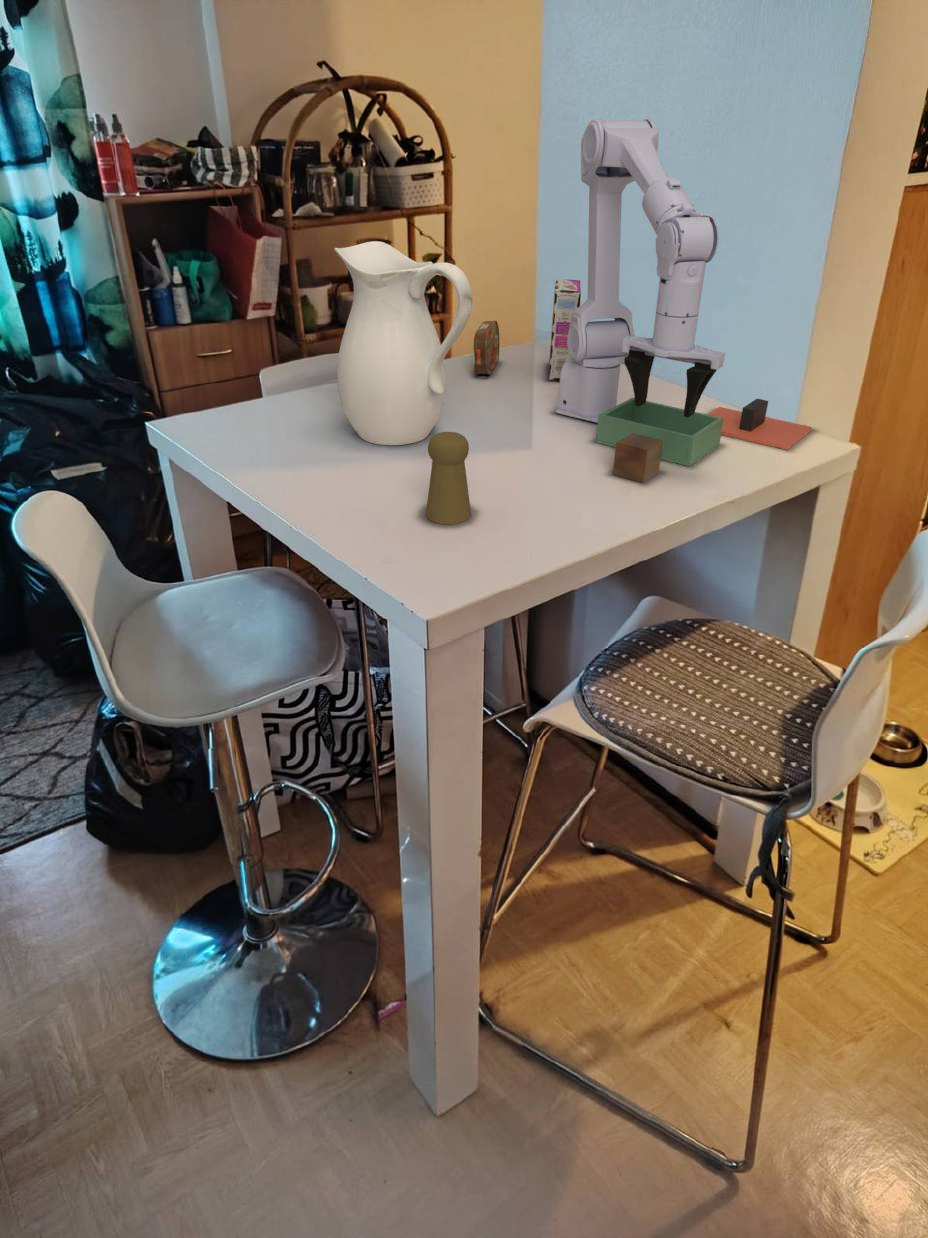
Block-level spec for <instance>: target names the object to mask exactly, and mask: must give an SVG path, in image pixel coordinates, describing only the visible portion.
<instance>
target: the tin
mask: <svg viewBox="0 0 928 1238" xmlns="http://www.w3.org/2000/svg"><path fill="white" fill-rule="evenodd" d="M473 352H474V353H473V354H474V355H473V356H474V371H475V374H476V375H478V376H482V375H483V376H491V375H492V374H493V372H494V370H495V368H496V366H497V364H498V363H499V357H500V328H499V323H498V321H497V320H486V321H483V322H482V323H481V324H480V325H479V327H478V329H476V331H475V333H474V336H473Z"/></svg>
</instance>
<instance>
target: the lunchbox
mask: <svg viewBox="0 0 928 1238" xmlns="http://www.w3.org/2000/svg"><path fill="white" fill-rule="evenodd" d="M707 414H708V413H703V412H698V411H695V413H694V414H693V415H692V416H690V417H684V408H680V407H676V406H671V405H667V404H663V403H658V402H654V401H649V400H646V403H645V404H643V405H641V406H635V397H631V398H628V399H627V400H625V401H623V402H621V403H619V404H616V406H615V407H613V408H611V409H609V410H608V411H606V412H604V413H602V414H600V415H599V418H598V423H597V428H596V429H597V431H596V439H595V442H596V443H597V444H600V445H605V446H609V447H611V448H612V447H613V448H616V442H618V441H619V440H621V439H623V438H624V437H626V436H628V435H630V434H631V433H635V434H639V435H643V436H647V437H651V438H655V439H659V440H663V446H662V453H661V460H663V461H667V462H670V463H675V464H677V465H678V464H679V465H682V466H687V467H691V466H692V465H694V464H695V463H697V462H698V461H700V460H701V459H702V458H704V457H705V456H706V455H708V454H710V453H711V452H712V451H714V450H715V449H716V448H718V447H719V446H720V444H721V437H722V435H721V432H722V427H723V421H724V418H721V417H716V416H712V415H707Z"/></svg>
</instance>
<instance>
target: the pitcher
mask: <svg viewBox="0 0 928 1238" xmlns="http://www.w3.org/2000/svg"><path fill="white" fill-rule="evenodd" d="M333 249H334V251H335V253H336V254H337V255H338V257H339V258H340V259H341V261H342V262H343V264H344V265H345V267H346V268H347V270H348V272H349V274H350V276H351V279H352V284H353V295H352V296H353V297H352V304H351V307H350V312H349V315H348V319H347V321H346V324H345V328H344V332H343V335H342V338H341V342H340V345H339V352H338V357H337V365H336V366H337V367H336V368H337V369H336V381H337V391H338V396H339V400H340V403H341V407H342V409H343V411H344V413H345V416H346V417H347V419H348V421H349V424H350V425H351V426H352V428H353V430H354V431H355V432H356V434H357V435H358V436H359V437H360V438H361V439H362V440H364V441H365V442H368V443H370V444H374V445H380V446H405V445H409V444H416V443H418V442H421V441H422V440H424V439H426V438H427V437H428V436H429V435H430V433H431V431H432V430H433V428H434V426H435V425H436V423H437V421H438V419H439V416H440V414H441V412H442V410H443V406H444V402H445V398H446V392H447V391H446V390H447V368H446V367H447V366H446V360H445V357H446V356H447V354H448V353H449V352H450V350H451V348H452V347H453V346H454V344H455V343H456V342H457V340H458V338H459V337H460V336H461V334H462V332H463V331H464V329H465V327H466V325H467V323H468V321H469V319H470V317H471V312H472V307H473V291H472V287H471V284H470V281H469V279H468V277H467V275H466V274H465V273H464V271H463V270H462V269H461V268H460V267H458V266H457V265H455V264H453V263H449V262H442V261H441V262H435V263H434V262H432V261H424V262H418V261H415V260H413V259H412V258H410V257H408V256H407V255H405V253H403V252H401V251H399V250H398V249H397V248H395V247H394V246H392V245H390V244H388V243H386V242H384V241H379V240H374V241H366V242H362V243H358V244H355V245H352V246H347V247H334V248H333ZM437 275H440V276H442V277H444V278H446V279H447V280H448V281H450V283H451V284H452V285H453V288H454V289H455V291H456V295H457V309H456V310H457V311H456V314H455V319H454V321H453V324H452V326H451V327H450V329H449V331H448V333H447V334H446V336H445V338H444V340H443V341H442V342H441V341H440V338H439V334H438V332H437V330H436V327H435V325H434V324H435V323H434V322H433V319H432V316H431V313H430V311H429V308H428V306H427V302H426V298H425V292H426V287H427V285H428V283H429V282H430V281H431V280H432V279H433V278H434V277H436V276H437Z"/></svg>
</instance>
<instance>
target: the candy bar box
mask: <svg viewBox="0 0 928 1238" xmlns="http://www.w3.org/2000/svg"><path fill="white" fill-rule="evenodd" d="M554 283H555V284H554V292H553V293H554V294H553V306H552V318H551V319H552V321H551V333H550V334H551V335H550V346H549V347H550V349H549V361H548V381H554V382H555V381H557V382H560V375H561V370H562V368H563V365H564V363H565V362H566V361H567V360H568V359H569V358H571V356H570V354H569V351H568V346H567V337H568V331H569V328H570V318H571V314H572V313H573V312H574V311H575V310H576V309H577V308H578V307H580V306H581V300H582V289H581V288H582V285H581V284H582V283H581V280H579V279H561V278H560V279H557V278H556V279H555V282H554Z"/></svg>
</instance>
